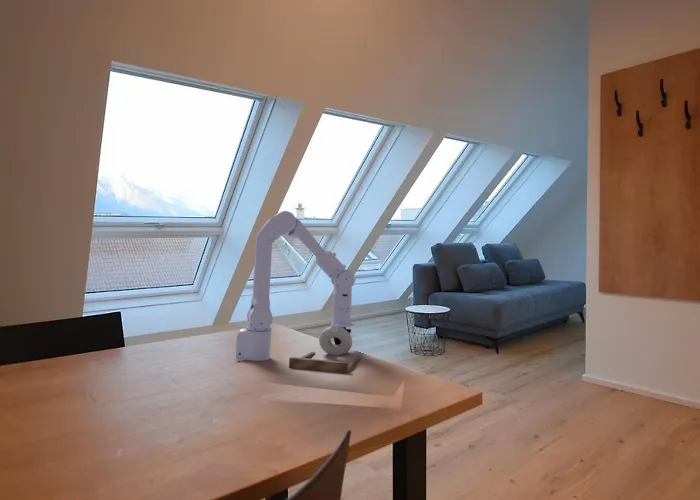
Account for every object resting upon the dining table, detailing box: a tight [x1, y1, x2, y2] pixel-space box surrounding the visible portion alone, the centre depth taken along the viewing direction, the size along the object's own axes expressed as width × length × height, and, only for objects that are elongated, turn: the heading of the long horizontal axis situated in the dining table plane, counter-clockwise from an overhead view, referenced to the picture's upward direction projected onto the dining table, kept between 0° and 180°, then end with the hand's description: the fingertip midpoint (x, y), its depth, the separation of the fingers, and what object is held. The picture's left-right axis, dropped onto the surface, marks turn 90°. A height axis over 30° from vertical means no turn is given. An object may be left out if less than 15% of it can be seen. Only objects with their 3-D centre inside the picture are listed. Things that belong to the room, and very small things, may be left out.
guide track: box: [288, 351, 363, 374], centre depth 134 cm, size 16×18×2 cm
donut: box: [318, 326, 353, 356], centre depth 142 cm, size 10×3×10 cm, turn 85°
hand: (340, 352), depth 146 cm, fingers closed
